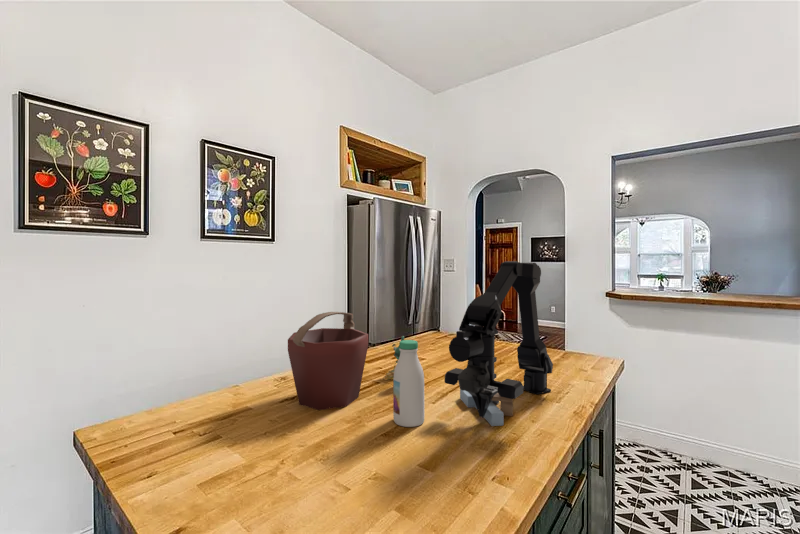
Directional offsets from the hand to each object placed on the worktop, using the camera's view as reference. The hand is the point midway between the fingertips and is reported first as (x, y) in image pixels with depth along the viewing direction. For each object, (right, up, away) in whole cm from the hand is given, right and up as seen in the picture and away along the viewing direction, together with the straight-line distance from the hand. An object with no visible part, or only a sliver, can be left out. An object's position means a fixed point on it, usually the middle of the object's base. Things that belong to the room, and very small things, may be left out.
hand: (482, 416), depth 95 cm
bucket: (-40, -1, +16) cm, 44 cm away
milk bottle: (-18, -2, +1) cm, 18 cm away
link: (+2, -1, +7) cm, 8 cm away
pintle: (+6, -1, +13) cm, 14 cm away
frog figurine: (-19, -1, +40) cm, 44 cm away
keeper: (+6, -1, +6) cm, 8 cm away
